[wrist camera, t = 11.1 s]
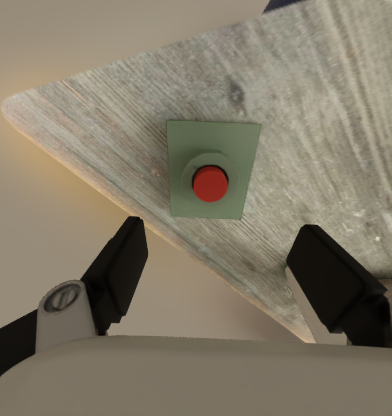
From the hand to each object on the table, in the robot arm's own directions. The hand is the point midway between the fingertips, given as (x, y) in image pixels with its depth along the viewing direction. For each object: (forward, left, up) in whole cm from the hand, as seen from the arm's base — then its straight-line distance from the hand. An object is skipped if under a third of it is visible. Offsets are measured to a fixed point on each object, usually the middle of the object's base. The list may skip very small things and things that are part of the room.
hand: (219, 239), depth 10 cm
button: (0, 0, -10) cm, 10 cm away
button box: (0, 0, -14) cm, 14 cm away
